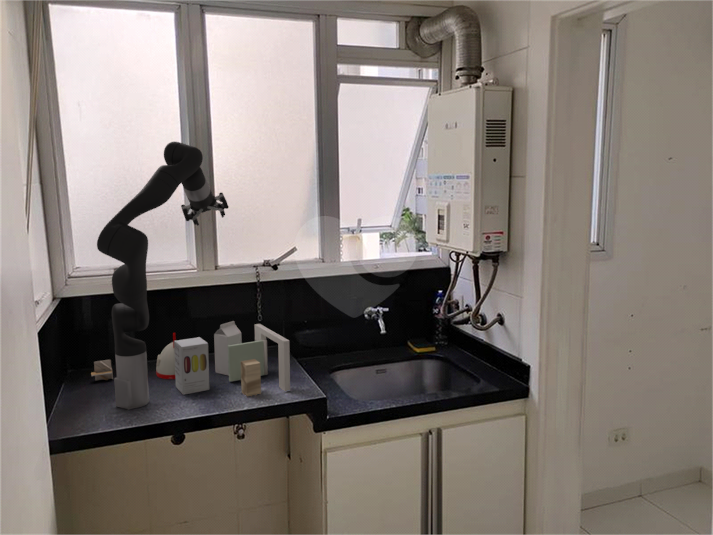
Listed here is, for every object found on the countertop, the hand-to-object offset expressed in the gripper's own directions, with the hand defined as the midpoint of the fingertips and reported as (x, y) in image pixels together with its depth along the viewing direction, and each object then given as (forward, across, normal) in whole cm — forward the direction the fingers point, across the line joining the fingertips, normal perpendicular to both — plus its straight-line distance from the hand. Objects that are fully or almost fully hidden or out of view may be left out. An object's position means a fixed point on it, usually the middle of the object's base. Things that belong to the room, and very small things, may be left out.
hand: (210, 219), depth 189 cm
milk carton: (+47, -14, -36) cm, 61 cm away
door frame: (+40, +1, -47) cm, 62 cm away
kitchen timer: (+46, -32, -29) cm, 63 cm away
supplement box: (+34, -25, -42) cm, 59 cm away
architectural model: (+40, -56, -25) cm, 73 cm away
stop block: (+30, -7, -52) cm, 60 cm away
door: (+41, -7, -42) cm, 59 cm away
